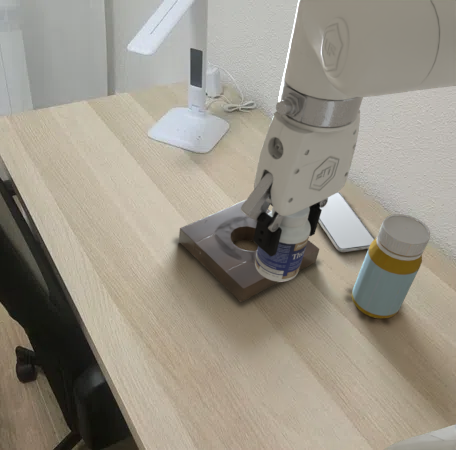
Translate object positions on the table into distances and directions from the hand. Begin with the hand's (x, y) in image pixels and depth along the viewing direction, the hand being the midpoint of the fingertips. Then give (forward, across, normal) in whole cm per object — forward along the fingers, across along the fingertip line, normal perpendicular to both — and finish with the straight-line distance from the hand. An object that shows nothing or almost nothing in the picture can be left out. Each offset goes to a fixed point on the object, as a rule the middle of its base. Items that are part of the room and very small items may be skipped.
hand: (284, 237), depth 64 cm
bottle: (+20, +20, -4) cm, 28 cm away
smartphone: (+20, +30, +11) cm, 38 cm away
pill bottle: (+5, 0, 0) cm, 5 cm away
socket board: (+20, +11, +15) cm, 27 cm away
